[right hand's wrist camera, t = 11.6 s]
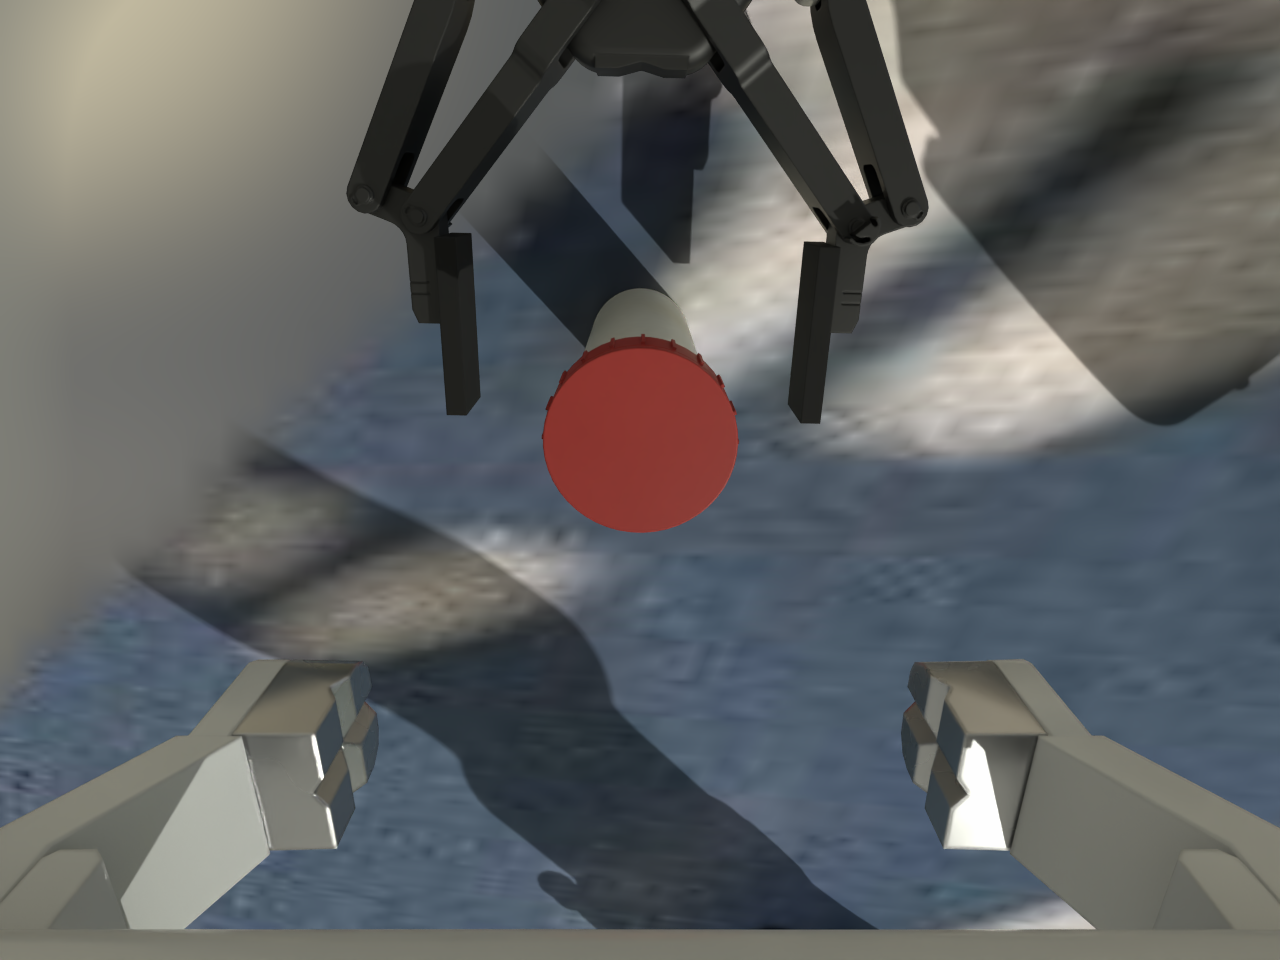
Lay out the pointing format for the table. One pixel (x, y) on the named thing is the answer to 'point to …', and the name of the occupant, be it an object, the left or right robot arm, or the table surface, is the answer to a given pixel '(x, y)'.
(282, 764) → the right robot arm
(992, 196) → the table surface
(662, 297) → the jar
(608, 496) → the lid
